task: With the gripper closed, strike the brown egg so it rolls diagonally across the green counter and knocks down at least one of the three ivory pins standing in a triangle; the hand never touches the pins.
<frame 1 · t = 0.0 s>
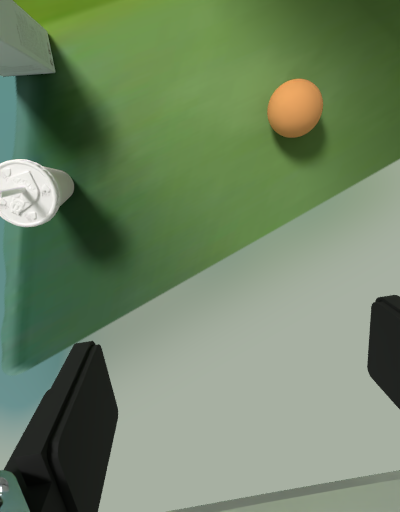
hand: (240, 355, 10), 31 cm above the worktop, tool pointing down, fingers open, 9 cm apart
smoothie: (59, 185, 38), on the worktop
skincare box: (25, 56, 33), on the worktop
brown egg: (294, 109, 34), on the worktop
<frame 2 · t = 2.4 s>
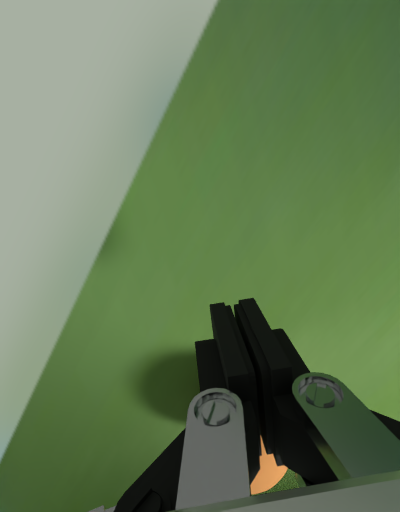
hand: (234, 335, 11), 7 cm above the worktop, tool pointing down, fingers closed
brown egg: (243, 433, 19), on the worktop
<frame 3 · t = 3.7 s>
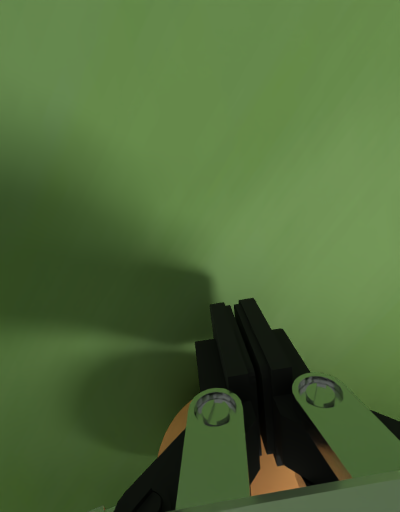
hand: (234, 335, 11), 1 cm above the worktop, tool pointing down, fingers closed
brown egg: (234, 472, 11), on the worktop
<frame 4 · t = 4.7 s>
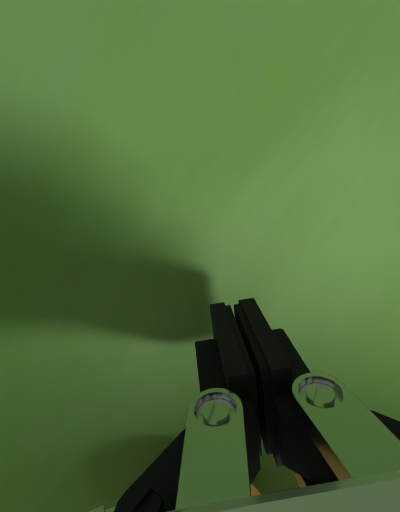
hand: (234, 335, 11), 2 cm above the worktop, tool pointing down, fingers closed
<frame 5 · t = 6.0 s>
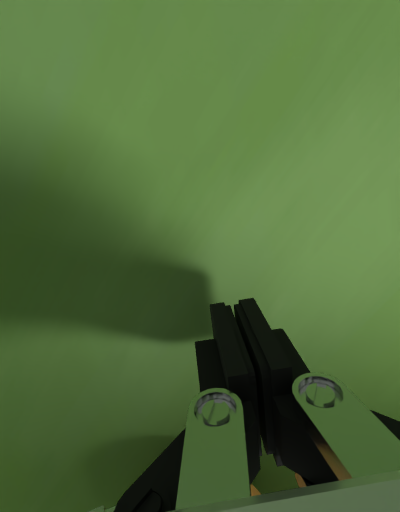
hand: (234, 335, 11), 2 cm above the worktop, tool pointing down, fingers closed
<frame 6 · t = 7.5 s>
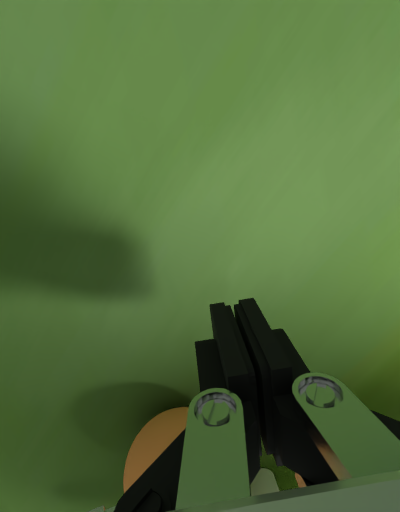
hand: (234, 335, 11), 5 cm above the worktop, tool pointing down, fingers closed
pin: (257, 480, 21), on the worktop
brown egg: (182, 471, 16), on the worktop
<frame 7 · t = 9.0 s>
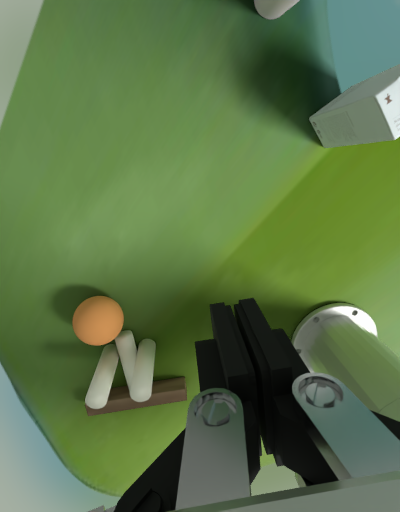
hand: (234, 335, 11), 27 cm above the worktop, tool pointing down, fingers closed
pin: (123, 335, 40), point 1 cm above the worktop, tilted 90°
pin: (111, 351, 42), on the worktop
skincare box: (336, 116, 35), on the worktop
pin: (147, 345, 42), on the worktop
brown wooden bar: (138, 389, 45), on the worktop
brown egg: (98, 320, 37), on the worktop
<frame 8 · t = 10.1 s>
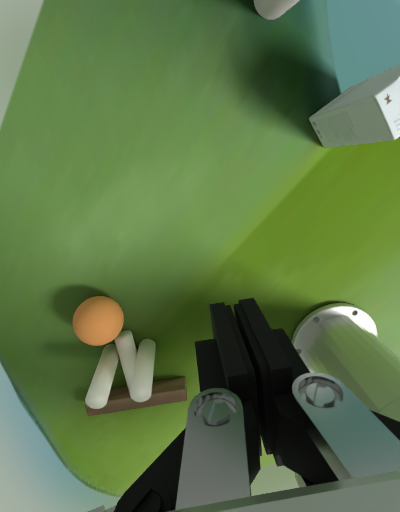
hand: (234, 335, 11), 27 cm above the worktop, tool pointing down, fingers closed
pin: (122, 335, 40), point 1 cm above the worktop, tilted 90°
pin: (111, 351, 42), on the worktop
skincare box: (336, 116, 35), on the worktop
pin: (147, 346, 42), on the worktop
brown wooden bar: (138, 389, 45), on the worktop
brown egg: (98, 320, 37), on the worktop
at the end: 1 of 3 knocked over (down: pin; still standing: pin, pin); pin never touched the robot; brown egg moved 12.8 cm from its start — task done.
